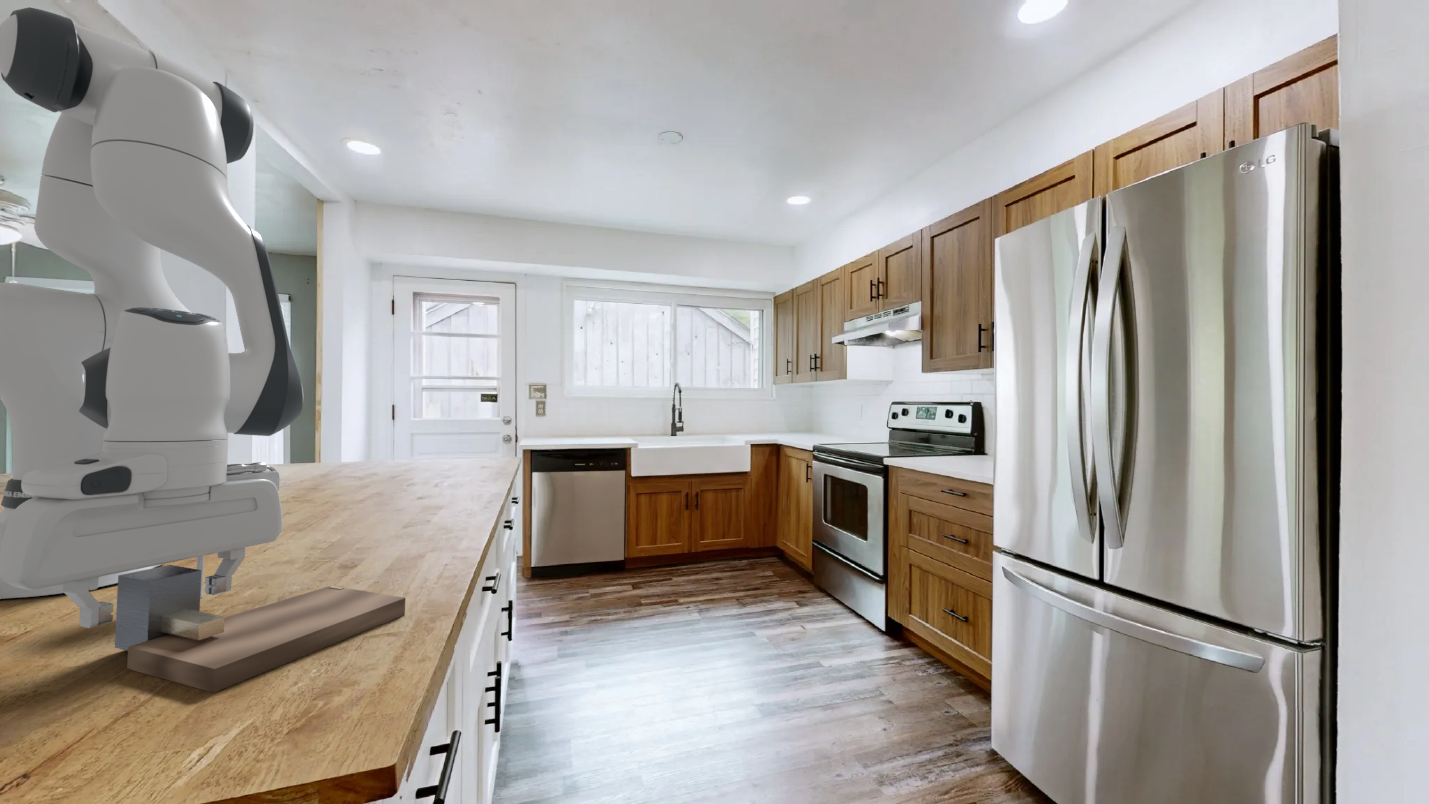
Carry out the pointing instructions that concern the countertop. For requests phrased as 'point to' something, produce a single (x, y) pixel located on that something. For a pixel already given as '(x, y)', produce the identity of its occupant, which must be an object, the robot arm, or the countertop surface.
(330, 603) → the board
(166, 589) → the upright grey metal block
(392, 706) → the countertop surface
